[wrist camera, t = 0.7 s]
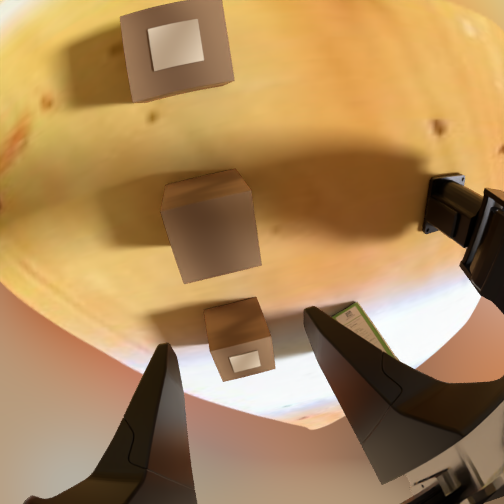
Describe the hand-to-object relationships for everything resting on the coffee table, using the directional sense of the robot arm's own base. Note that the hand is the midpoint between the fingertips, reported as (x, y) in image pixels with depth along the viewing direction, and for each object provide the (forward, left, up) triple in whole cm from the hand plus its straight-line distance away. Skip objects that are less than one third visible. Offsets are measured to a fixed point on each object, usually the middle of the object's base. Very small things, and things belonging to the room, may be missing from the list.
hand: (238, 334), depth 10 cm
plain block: (0, 0, -12) cm, 12 cm away
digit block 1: (0, -11, -12) cm, 16 cm away
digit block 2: (0, +12, -12) cm, 17 cm away
